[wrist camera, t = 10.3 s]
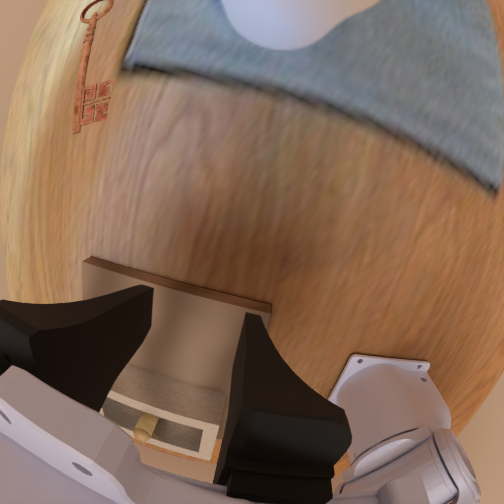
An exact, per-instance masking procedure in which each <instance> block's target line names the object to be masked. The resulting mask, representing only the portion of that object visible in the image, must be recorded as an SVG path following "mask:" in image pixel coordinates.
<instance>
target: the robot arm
mask: <svg viewBox="0 0 504 504" xmlns="http://www.w3.org/2000/svg"><path fill="white" fill-rule="evenodd" d="M153 295H154V288H153V287H149V286H146V285H143V284H141V285H136V286H132V287H129V288H126V289H123V290H120V291H116V292H113V293H110V294H107V295H103V296H99V297H95V298H91V299H87V300H82V301H76V302H69V303H57V304H31V303H21V302H14V301H7V300H0V504H447V503H448V502H450V501H452V500H453V501H452V502H451V503H449V504H479V502H480V499H479V498H480V496H481V490H480V487H479V485H478V483H477V480H476V476H475V473H474V470H473V468H472V465H471V463H470V461H469V459H468V457H467V455H466V453H465V451H464V449H463V447H462V446H461V444H460V442H459V441H458V439H457V438H456V436H455V434H454V433H453V432H452V431H451V430H450V427H451V415H450V411H449V408H448V406H447V404H446V402H445V401H444V399H443V397H442V396H441V394H440V392H439V391H438V389H437V387H436V386H435V384H434V383H433V381H432V379H431V378H430V376H429V375H428V373H427V371H428V369H429V367H430V363H429V362H428V361H416V360H405V359H394V358H385V357H376V356H368V355H360V354H353V355H352V356H350V358H349V360H348V362H347V364H346V366H345V368H344V370H343V372H342V374H341V375H340V377H339V379H338V381H337V383H336V385H335V387H334V389H333V390H332V392H331V394H330V396H329V397H328V399H325V398H324V397H322V396H321V395H320V394H318V393H317V392H316V391H314V390H313V389H312V388H310V387H309V386H308V385H307V384H306V383H305V382H303V381H302V380H301V379H300V378H299V377H298V376H297V375H296V374H295V373H294V372H293V371H292V370H291V368H290V367H289V366H288V365H287V364H286V362H285V361H284V360H283V359H282V357H281V356H280V354H279V353H278V351H277V349H276V348H275V346H274V344H273V342H272V340H271V339H270V337H269V335H268V332H267V330H266V328H265V326H264V323H263V320H262V318H261V316H260V315H257V314H252V313H248V312H246V313H245V317H244V321H243V325H242V329H241V333H240V337H239V341H238V345H237V349H236V354H235V358H234V363H233V367H232V376H231V387H230V398H229V408H228V415H227V420H226V425H225V430H224V435H223V439H222V444H221V449H220V453H219V458H218V462H217V467H216V471H215V476H214V480H213V484H212V483H207V482H202V481H198V480H195V479H191V478H187V477H183V476H180V475H176V474H173V473H169V472H166V471H163V470H160V469H157V468H154V467H151V466H148V465H146V464H144V463H142V462H141V460H140V454H139V451H138V449H137V447H136V446H135V444H134V442H133V440H132V439H131V437H130V436H129V435H128V434H127V433H126V432H125V431H124V430H123V429H121V428H120V427H119V426H118V425H117V424H116V423H115V422H113V421H111V420H110V419H108V418H106V417H105V416H103V415H101V414H100V413H99V412H100V410H101V408H102V406H103V404H104V402H105V400H106V398H107V396H108V394H109V392H110V390H111V388H112V386H113V384H114V382H115V381H116V379H117V378H118V376H119V375H120V373H121V372H122V370H123V369H124V368H125V366H126V365H127V364H128V362H129V361H130V360H131V358H132V357H133V356H134V354H135V353H136V351H137V350H138V349H139V347H140V346H141V345H142V343H143V342H144V340H145V338H146V336H147V334H148V332H149V330H150V328H151V326H152V308H153ZM359 359H361V360H360V361H358V360H359ZM418 365H419V366H418ZM346 451H347V453H348V459H349V464H350V468H348V469H347V470H345V471H343V478H344V482H343V483H341V484H339V485H338V486H337V487H336V489H335V491H334V493H333V494H332V485H331V478H333V477H334V475H335V473H334V465H335V464H336V463H337V461H338V460H339V459H340V458H341V457H342V456H343V455H344V454H345V452H346ZM455 498H456V499H455Z"/></svg>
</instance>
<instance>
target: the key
mask: <svg viewBox="0 0 504 504" xmlns="http://www.w3.org/2000/svg"><path fill="white" fill-rule="evenodd" d="M99 1H102V0H96V1H94V2H92V3H91V4H89V5H88V6H87V7H86V8H85V9H84V10H83V11H82V13H81V16H80V19H81V21H82V22H84V23H89V26H88V28H87V30H88V31H87V33H86V38H85V39H84V42H83V43H84V46H83V51H82V56H81V61H80V67H79V73H78V80H77V87H76V95H75V104H74V115H73V131H72V134H75V133H79V132H80V128H81V125H85V124H89V123H93V122H94V108H95V105H92V106H88V107H85V110H84V116H87V115H88V118H84V119H83V109H84V106H85V105H88V104H92V103H96V102H99V101H103V100H107V99H110V97H108V98H103V99H99V100H95V101H91V102H87V103H84V101H88V100H91V99H95V98H96V89H97V84H94V85H91V86H87V87H84V85H85V78H86V72H87V65H88V60H89V54H90V49H91V44H92V41H93V35H94V29H95V27H96V26H95V25H96V21H97V20H98V19H100V18H102V17H103V16H104V15H105V14H107V13H108V12H109V11H110V9H111V8H112V6H113V3H114V1H113V0H109V5H108V7H107V8H106V10H105V11H104V12H102V13H101V14H100V15H98V16H97V12H95V13H94V14H93V16H92V17H91V19H84V15H85V13H86V11H87V10H88V9H89V8H90V7H91V6H92V5H94V4H95V3H97V2H99ZM111 83H112V87H113V83H114V80H110V81H106V82H102V83H99V84H98V93H97V98H99V97H102V96H106V95H109V88H110V86H108V87H105V85H107V84H111ZM90 89H91V91H88V92H86V90H90ZM85 92H86V99H85ZM111 92H112V89H111ZM107 109H108V102H105V103H100V104H96V116H95V122H97V121H102V120H106V119H107V114H108V113H106V114H103V112H104V111H107Z"/></svg>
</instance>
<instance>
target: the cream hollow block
mask: <svg viewBox="0 0 504 504" xmlns="http://www.w3.org/2000/svg"><path fill="white" fill-rule="evenodd" d="M226 394H227V393H224V392H220V391H216V390H212V389H208V388H204V387H200V386H196V385H193V384H189V383H186V382H182V381H179V380H176V379H172V378H169V377H166V376H163V375H160V374H157V373H154V372H151V371H148V370H145V369H142V368H139V367H137V366H134V365H131V364H129V363H128V364H127V365H126V366H125V368H124V369H123V370H122V372H121V373H120V375H119V376H118V378H117V379H116V381H115V382H114V384H113V386H112V388H111V390H110V392H109V394H108V396H107V398H106V400H105V402H104V404H103V406H102V408H101V410H100V412H99V413H100V414H101V415H103V416H105V417H106V418H108V419H110V420H111V421H113V422H115V423H116V424H117V425H118V426H119V427H120V428H121V429H123V430H124V431H125V432H126V433H127V434H128V435H129V436H132V437H134V438H135V436H134V433H133V431H134V428H135V426H136V424H137V422H138V420H139V418H140V417H141V415H142V413H143V411H144V412H146V413H149V414H152V415H155V416H158V417H159V420H158V422H157V424H156V426H155V429H154V431H153V433H152V435H151V438H150V439H149V440H148V441H145V442H148V443H150V444H153V445H156V446H159V447H162V448H165V449H168V450H172V451H175V452H178V453H182V454H185V455H189V456H193V457H197V458H201V459H205V460H209V461H210V459H211V455H212V452H213V448H214V444H215V441H216V437H217V433H218V430H219V426H220V421H221V417H222V412H223V407H224V403H225V398H226Z"/></svg>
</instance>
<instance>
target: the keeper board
mask: <svg viewBox="0 0 504 504" xmlns="http://www.w3.org/2000/svg"><path fill="white" fill-rule="evenodd" d="M82 282H83V300H87V299H91V298H95V297H99V296H103V295H107V294H110V293H113V292H116V291H120V290H123V289H126V288H129V287H132V286H136V285H141V284H143V285H146V286H149V287H153V288H154V295H153V308H152V326H151V328H150V330H149V332H148V334H147V336H146V338H145V340H144V342H143V343H142V345H141V346H140V347H139V349H138V350H137V351H136V353H135V354H134V356H133V357H132V358H131V360H130V361H129V362H128V363H129V364H131V365H134V366H137V367H139V368H142V369H145V370H148V371H151V372H154V373H157V374H160V375H163V376H166V377H169V378H172V379H176V380H179V381H182V382H186V383H189V384H193V385H196V386H200V387H204V388H208V389H212V390H216V391H220V392H224V393H227V394H226V398H225V403H224V407H223V412H222V417H221V421H220V426H219V430H218V433H217V437H216V438H218V439H223V435H224V430H225V425H226V420H227V415H228V408H229V398H230V387H231V376H232V367H233V363H234V358H235V354H236V349H237V345H238V341H239V337H240V333H241V329H242V325H243V321H244V317H245V313H246V312H248V313H252V314H257V315H260V316H261V318H262V320H263V323H264V326H265V328H266V330H267V327H268V323H269V320H270V317H271V309H272V305H271V304H267V303H263V302H258V301H254V300H250V299H245V298H241V297H237V296H233V295H229V294H224V293H220V292H216V291H212V290H208V289H205V288H201V287H197V286H193V285H189V284H185V283H182V282H178V281H174V280H170V279H167V278H163V277H160V276H156V275H152V274H149V273H145V272H142V271H138V270H135V269H132V268H128V267H125V266H121V265H118V264H115V263H112V262H108V261H105V260H102V259H99V258H95V257H92V256H91V257H90V258H88V259H86V260H84V261H82ZM158 420H159V417H158V416H155V415H152V414H149V413H146V412H144V411H143V413H142V415H141V417H140V418H139V420H138V422H137V424H136V426H135V428H134V431H133V433H134V436H135V438H136V439H137V440H139V441H142V442H145V441H148V440H149V439H150V438H151V435H152V433H153V431H154V429H155V426H156V424H157V422H158Z"/></svg>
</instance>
